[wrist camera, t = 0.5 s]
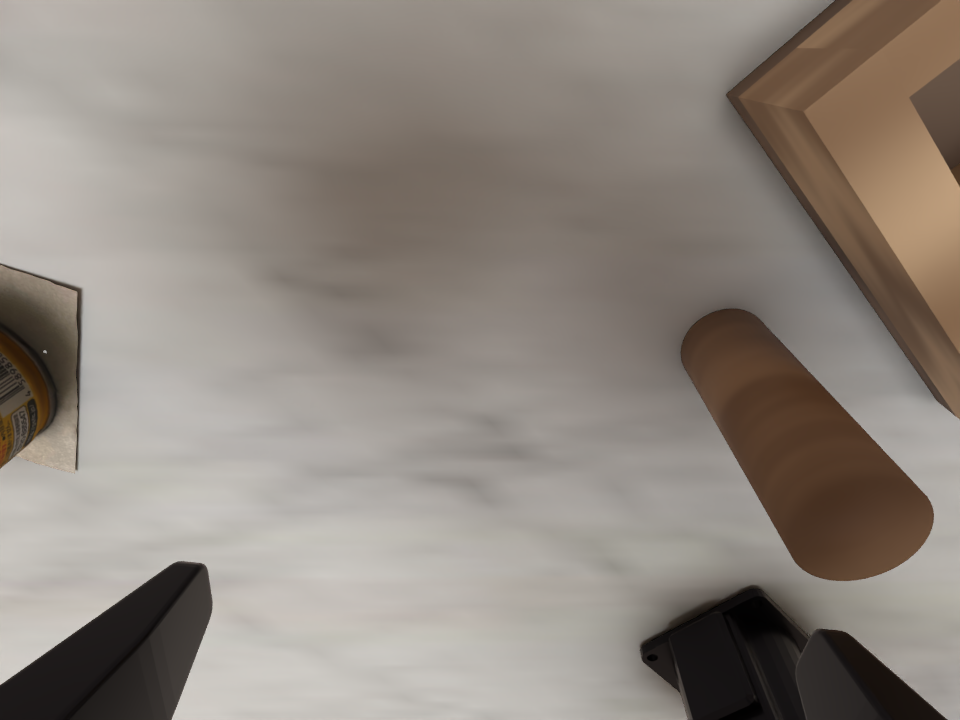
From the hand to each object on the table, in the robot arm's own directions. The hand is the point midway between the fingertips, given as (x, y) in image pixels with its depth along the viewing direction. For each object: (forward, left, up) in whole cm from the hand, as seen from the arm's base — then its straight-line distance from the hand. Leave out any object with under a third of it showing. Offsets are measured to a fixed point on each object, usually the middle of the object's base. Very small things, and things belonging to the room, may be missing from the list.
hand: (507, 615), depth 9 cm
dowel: (-7, -4, -13) cm, 15 cm away
